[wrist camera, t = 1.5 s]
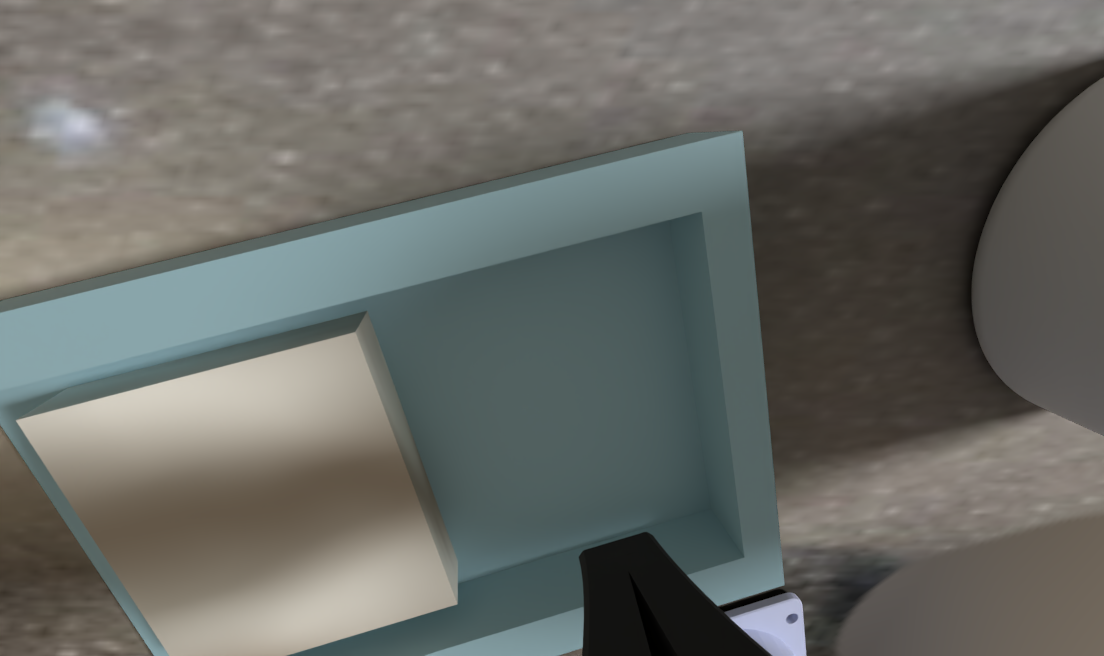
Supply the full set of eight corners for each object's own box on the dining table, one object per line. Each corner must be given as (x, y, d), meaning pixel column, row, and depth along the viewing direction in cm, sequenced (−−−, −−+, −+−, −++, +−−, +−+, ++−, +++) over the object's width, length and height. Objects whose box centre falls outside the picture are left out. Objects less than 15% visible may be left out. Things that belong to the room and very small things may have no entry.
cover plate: (457, 561, 18) (457, 604, 16) (214, 632, 18) (188, 685, 16) (367, 310, 15) (355, 332, 13) (67, 387, 14) (15, 420, 13)
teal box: (688, 133, 16) (742, 130, 13) (737, 520, 20) (784, 585, 17) (-42, 310, 14) (-177, 356, 11) (197, 682, 19) (147, 783, 16)
